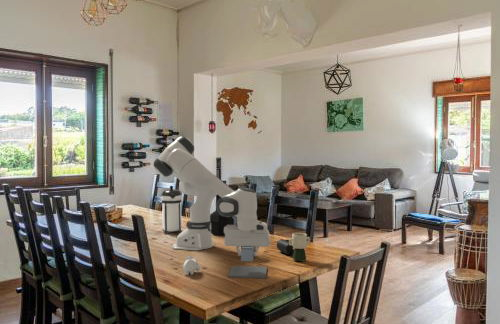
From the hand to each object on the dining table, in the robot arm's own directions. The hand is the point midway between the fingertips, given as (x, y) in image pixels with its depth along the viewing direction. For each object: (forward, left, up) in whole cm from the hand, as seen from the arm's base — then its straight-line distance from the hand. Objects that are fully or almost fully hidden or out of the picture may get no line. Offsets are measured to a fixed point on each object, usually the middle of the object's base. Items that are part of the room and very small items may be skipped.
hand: (247, 256), depth 184 cm
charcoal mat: (0, 0, -8) cm, 8 cm away
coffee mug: (-1, +26, -8) cm, 27 cm away
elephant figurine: (-25, -2, -8) cm, 26 cm away
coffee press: (-58, +82, -8) cm, 101 cm away
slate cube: (0, 0, -2) cm, 2 cm away
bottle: (-25, +78, -8) cm, 82 cm away
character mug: (+23, +20, -8) cm, 32 cm away
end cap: (+17, +33, -8) cm, 38 cm away
